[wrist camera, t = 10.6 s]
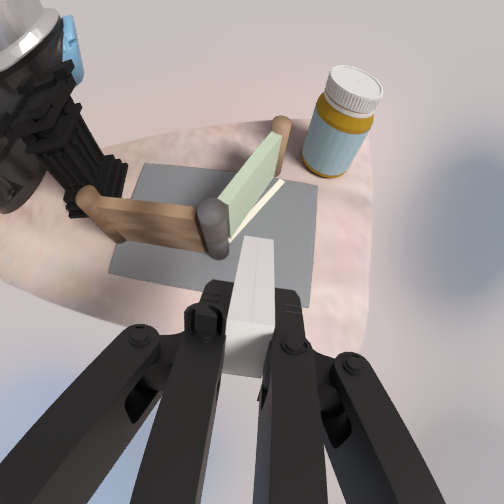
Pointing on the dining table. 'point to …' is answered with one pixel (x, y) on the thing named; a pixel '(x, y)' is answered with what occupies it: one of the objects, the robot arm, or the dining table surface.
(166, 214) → the walnut fence section
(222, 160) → the dining table surface
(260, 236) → the board
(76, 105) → the chess piece
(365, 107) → the bottle
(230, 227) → the fence panel
